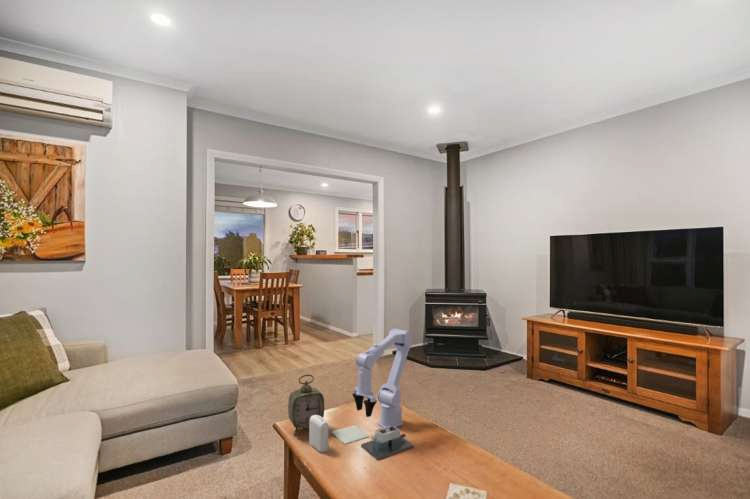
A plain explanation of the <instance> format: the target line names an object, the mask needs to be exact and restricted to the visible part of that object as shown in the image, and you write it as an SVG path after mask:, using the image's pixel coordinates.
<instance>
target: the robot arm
mask: <svg viewBox="0 0 750 499" xmlns="http://www.w3.org/2000/svg"><path fill="white" fill-rule="evenodd" d="M413 339H414V337H413V335H412V332H411V331H410V330H404V329H399V328H395V327H394V328H392V329H391V330H389V332H388V335H386V336H385V338H384V339H383V340H382V341H380V343H373V344H372V346H371V347H369V348H368V349H367V350H366V351H365V352H361V353H359V354H358V355H357V357H356V360H355V363H356V365H357V370H358V377H357V378H358V380H357V381H358V382H357V386H354V387H353V391H354V393H352V397H353V399H354V402H355V406H356V411H362V409H363V404H364V408H365V416H366V417H367V418H369V417H372V414H373V411H374V408H375V406H376V404H377V403H378V402H379V405H380V420H378V421H377V422H376V423H377V424H378V425H379V426H381V427H382V428H384V427H388V426H391V425H394V426H395V427H397V428H398V427H399V426H403V421H402V420H403V419H402V418H403V417H402V416H403V411H402V406H401V404H400V402H401V395H402V390H401V389H400V387H399V384H400V381H401V377H402V374H403V370H404V367H405V364H406V361H407V358H408V354H409V351H410V349H411V346H412V342H413ZM392 345H394V347H395V348H396V353H395V357H394V360H393V363H392V366H391V369H390V372H389V375H388V378H387V381H386V383H383V384H382V385H381V387H380V389H379V391H378V393H377V397H376V395H374V393H373V392H372V378H373V377H372V376H373V373H372V372H373V371H372V370H373V367H374V366H375V364H376V362H377V360H378V359H380V358H381V357H382V356H383V355H384V354H385V350H386V349H388V348H390V347H391V346H392ZM364 398H365V400H364Z"/></svg>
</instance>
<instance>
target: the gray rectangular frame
mask: <svg viewBox="0 0 750 499" xmlns="http://www.w3.org/2000/svg"><path fill="white" fill-rule="evenodd" d="M386 428H390V432H387V433H385V429H386ZM400 435H401V429H399V428H398V426H397V427H395V426H394V425H391V426H388V427H384V428H383V427H382V428H379V429H375V431H374V439H375V438H376V439H378V440H379V441H380V442H381V443H383V442H386V441H389V440H392V439H395V438H398V437H400Z"/></svg>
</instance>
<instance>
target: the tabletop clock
mask: <svg viewBox="0 0 750 499" xmlns="http://www.w3.org/2000/svg"><path fill="white" fill-rule="evenodd" d="M305 377H311V378H312V380H311V381H308V380H305V381H304V382H301V379H302V378H305ZM314 379H315V377H314V375H312V374H310V373H309V374H303V375H301V376H300V377H299V379H298V383H299V384H300V385H301V387H300V389H297V390H293V391H291V392H290V393H289V397H288V401H287V402H288V403H287V411H288V412H287V413H288V419H289V420H290V422H291V424H292V425H293V427H294V428H295V430H294V431H293V433H292V434H293V436H297V435H298V431H297V430H298V429H304V428H305V429H306V428H309V421H310V418H311V416H313V415H319V416H321V417H322V418H324V416H325V399H324V395H323V393H322V392H321V391H320V390H319V389H318V388H316V387H312V386H311V385H310V384H312V382H314V381H315V380H314Z"/></svg>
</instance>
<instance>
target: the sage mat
mask: <svg viewBox="0 0 750 499" xmlns="http://www.w3.org/2000/svg"><path fill="white" fill-rule="evenodd" d="M331 434H333V436H334V437H336V438H337V440H339V441H340V442H341V443H342V444H343V445H348V444H350V443H353V442H358V441H360V440H365V439H367V438H369V437H370V436H369V435H368V434H367V433H366V432H364V431H363V430H362V429H360V428H359V427H358V426H357V425H356V424H354V425H350V426H347V427H344V428H340V429H336V430H333V431H331Z"/></svg>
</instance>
